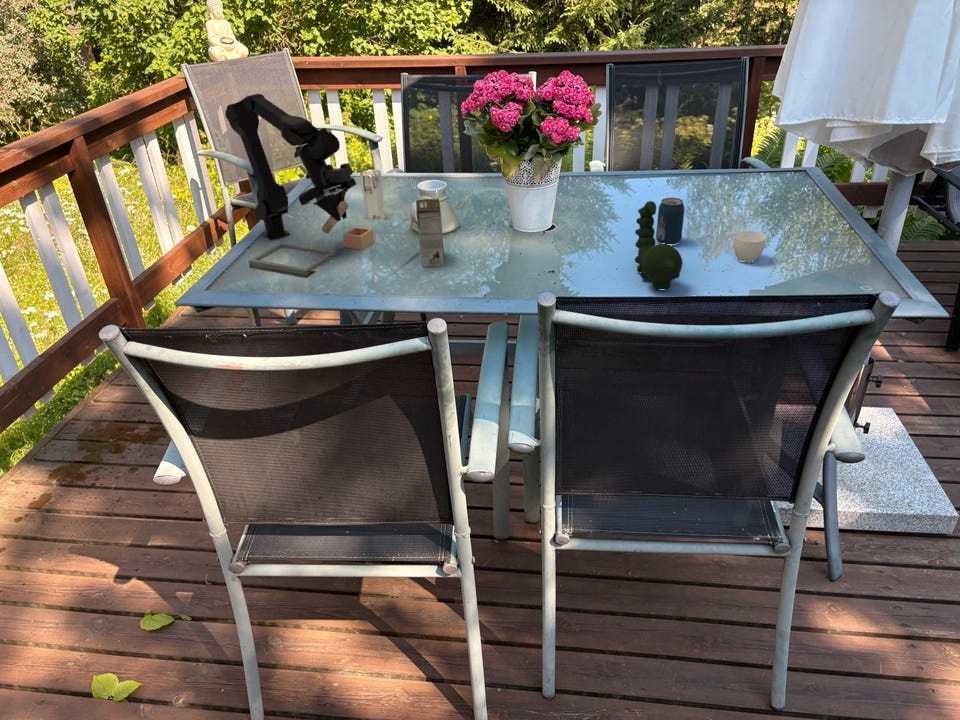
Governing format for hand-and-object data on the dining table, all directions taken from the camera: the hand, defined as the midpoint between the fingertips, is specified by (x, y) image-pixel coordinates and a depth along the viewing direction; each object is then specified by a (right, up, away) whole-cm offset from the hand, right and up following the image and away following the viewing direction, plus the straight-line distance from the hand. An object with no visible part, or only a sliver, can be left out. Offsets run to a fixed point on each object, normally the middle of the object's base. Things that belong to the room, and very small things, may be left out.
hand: (342, 219), depth 194 cm
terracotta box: (+3, -6, +12) cm, 13 cm away
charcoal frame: (-15, -11, +5) cm, 19 cm away
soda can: (+91, -6, +5) cm, 92 cm away
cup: (+109, -12, -7) cm, 110 cm away
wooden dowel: (-4, -4, +4) cm, 7 cm away
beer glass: (+5, +6, +32) cm, 33 cm away
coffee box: (+25, -11, +2) cm, 27 cm away
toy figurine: (+82, -18, -15) cm, 86 cm away
